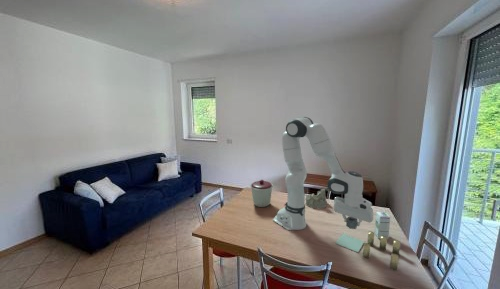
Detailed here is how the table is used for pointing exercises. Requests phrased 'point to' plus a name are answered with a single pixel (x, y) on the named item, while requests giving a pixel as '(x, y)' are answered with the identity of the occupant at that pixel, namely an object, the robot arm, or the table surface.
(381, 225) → the syrup box
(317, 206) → the jagged green rock
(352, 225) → the hex nut
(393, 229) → the table surface
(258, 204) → the canister
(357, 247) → the mat
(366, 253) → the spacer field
